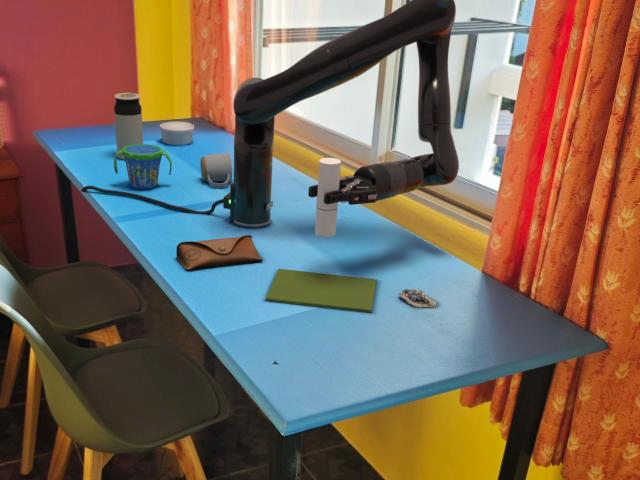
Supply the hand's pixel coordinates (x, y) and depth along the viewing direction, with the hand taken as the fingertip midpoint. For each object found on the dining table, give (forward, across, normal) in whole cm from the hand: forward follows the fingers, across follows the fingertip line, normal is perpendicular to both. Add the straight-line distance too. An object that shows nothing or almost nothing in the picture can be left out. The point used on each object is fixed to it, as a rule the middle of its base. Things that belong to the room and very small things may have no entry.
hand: (317, 195), depth 155 cm
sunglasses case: (+12, -18, +18) cm, 28 cm away
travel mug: (-8, -99, +18) cm, 101 cm away
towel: (+3, +7, +18) cm, 19 cm away
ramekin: (-29, -107, +18) cm, 112 cm away
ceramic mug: (-17, -64, +18) cm, 69 cm away
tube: (-3, 0, +9) cm, 9 cm away
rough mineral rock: (-11, +20, +18) cm, 29 cm away
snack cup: (+2, -72, +18) cm, 74 cm away
